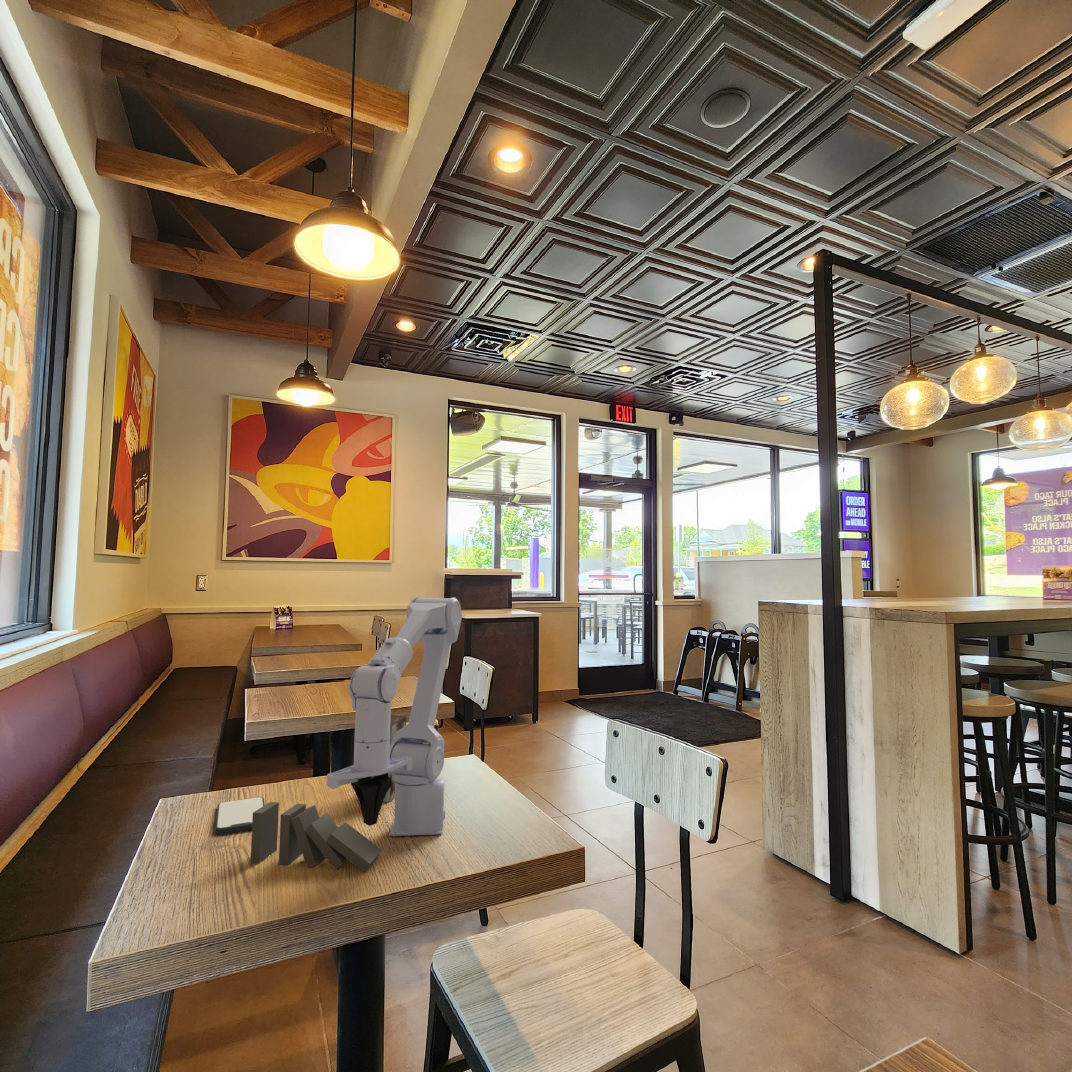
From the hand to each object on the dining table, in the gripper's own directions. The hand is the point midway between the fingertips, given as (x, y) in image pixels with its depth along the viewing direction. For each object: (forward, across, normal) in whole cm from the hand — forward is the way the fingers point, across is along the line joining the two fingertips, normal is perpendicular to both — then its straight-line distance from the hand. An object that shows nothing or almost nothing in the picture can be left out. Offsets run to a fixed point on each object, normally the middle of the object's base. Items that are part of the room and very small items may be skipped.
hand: (370, 823), depth 98 cm
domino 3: (+6, +2, -3) cm, 7 cm away
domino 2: (+6, +5, -7) cm, 11 cm away
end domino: (+7, +11, -15) cm, 20 cm away
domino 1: (+7, +8, -11) cm, 15 cm away
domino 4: (+6, 0, +1) cm, 6 cm away
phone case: (+7, +8, -35) cm, 37 cm away
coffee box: (+7, -19, -28) cm, 34 cm away
